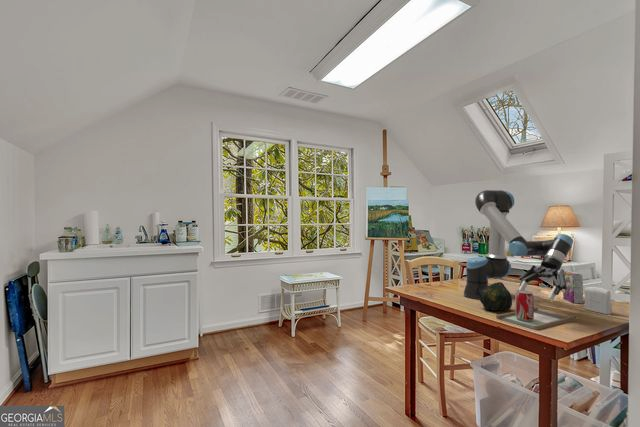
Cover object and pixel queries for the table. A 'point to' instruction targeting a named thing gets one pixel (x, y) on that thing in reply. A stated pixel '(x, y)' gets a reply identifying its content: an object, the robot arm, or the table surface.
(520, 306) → the soda can
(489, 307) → the squash
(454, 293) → the table surface
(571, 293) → the candy bar box
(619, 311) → the table surface
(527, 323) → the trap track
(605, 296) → the photo printer
